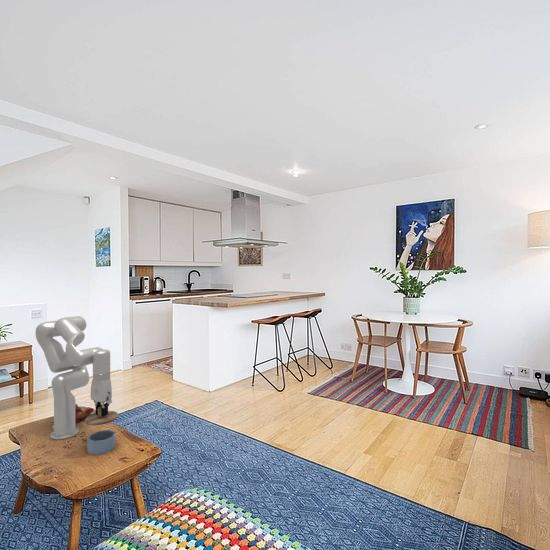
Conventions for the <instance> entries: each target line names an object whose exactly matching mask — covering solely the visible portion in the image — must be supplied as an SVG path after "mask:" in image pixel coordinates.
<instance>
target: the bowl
mask: <svg viewBox="0 0 550 550" xmlns="http://www.w3.org/2000/svg"><path fill="white" fill-rule="evenodd" d="M116 437H117V432H116V431H114V430H111V429H105V430H97V431H95V432H94V433H91V434H89V435H88V437H87V440H86V446H87V447H86V452H87V453H88V454H91V455H93V456H94V455H95V456H96V455H104V454H107V453H109V452H111V451H112V450H115V448H116V445H117V441H116V440H117V439H116Z"/></svg>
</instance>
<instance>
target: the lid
mask: <svg viewBox="0 0 550 550" xmlns="http://www.w3.org/2000/svg"><path fill="white" fill-rule="evenodd" d="M101 408H102V406H100V407H98V415H96V412H95V413H90V414H89V415H87V416H86V418H85V419H84V420H85V421H84V424H86V425H88V426H101V425H106V424H109V423H112V422H113V421H116V420H117V419H118V417H119V414H118V412H117V411H114V410H108V415H106V416H103V417H102V416H101Z"/></svg>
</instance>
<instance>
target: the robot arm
mask: <svg viewBox="0 0 550 550" xmlns="http://www.w3.org/2000/svg"><path fill="white" fill-rule="evenodd" d="M86 328H87V321H86V319H85V318H84V317H83V316H79V315H76V316H68V317H61V318H59V319H57V320H50V321H44V322H42V323H39V324H38V325H37V326H36V328H35V332H34V333H35V334H34V335H35V339H36V341H37V343H38V345H39V346H40V347H41V350H42V351H43V353H44V358H45V360H46V362H47V366H48V367H49V369H50V370H49V371H50V372H51V373H53V374H57V373H59V374H57V375H55V376H54V377H52V379H51V388H52V394H53V424H52V428H53V431H52V432H51V433H50V436H49V437H50V438H51V440H52V439H53V440H57V441H58V440H65V439H69V438H72V437H73V436H74V437H75V436H76V435H77V434H78V433H79V432H80V428H79V427H77V426H76V422H75V404H76V397H75V395H74V394H73V393H72V391H73V390H76V389H79V388H83V387H85V386H88V384H89V382H90V374H89V371H88V368H87V366H88V365H92V379H91V382H90V383H91V384H90V400H92V401H93V403H94V406H95V413H96V415H98V407H100V406H102V408H101V416H102V417H103V416H106V415H108V411H109V407H110V405H111V404H112V403H113V400H112V396H113V391H112V390H113V388H112V380H111V351H110V350H108V349H105V348H104V349H103V348H102V347H98V346H97V347H91V348H90V347H89V348H85V349H81V350H79V349H77V348H76V347H78V346H79V345H80V344H81V343H82V342H84V340H85V337H86V335H85V332H84V331H85V330H86ZM55 337H62V339H63V340H64V341H65V342H66V345H65V350H64V347H63V345H62V344H61V342H60V341H58V340H57V339H55ZM62 372H63V373H62Z"/></svg>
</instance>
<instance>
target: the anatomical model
mask: <svg viewBox="0 0 550 550" xmlns="http://www.w3.org/2000/svg"><path fill="white" fill-rule="evenodd" d="M93 412H94V407H93V408H89V407H86V406H82V405H81V406H79V405H78V404H77V403H75V423H78V422H81V420H83V419H84V418H85V417H88V416H89V415H91V414H93Z"/></svg>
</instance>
